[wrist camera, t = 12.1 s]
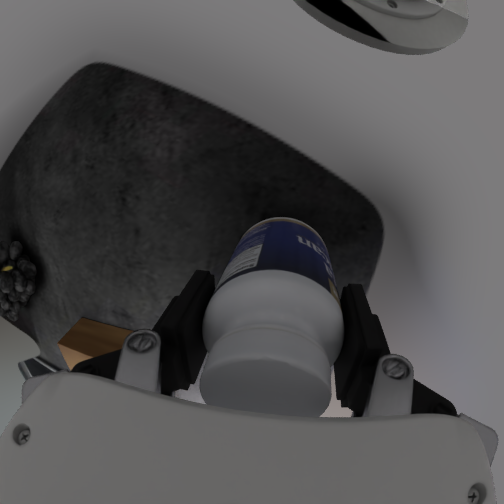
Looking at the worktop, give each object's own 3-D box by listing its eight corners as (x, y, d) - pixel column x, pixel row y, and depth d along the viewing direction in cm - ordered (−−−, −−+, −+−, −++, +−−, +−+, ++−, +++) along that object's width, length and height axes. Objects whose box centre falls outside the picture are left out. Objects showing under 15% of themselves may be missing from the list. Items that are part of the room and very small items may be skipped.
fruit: (-13, 346, 20) (-16, 298, 15) (-31, 292, 21) (-31, 226, 15) (31, 329, 28) (51, 279, 23) (12, 281, 29) (30, 218, 23)
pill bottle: (346, 261, 15) (387, 402, 7) (280, 311, 17) (263, 450, 9) (283, 194, 14) (265, 299, 6) (218, 255, 16) (147, 383, 8)
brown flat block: (62, 310, 26) (36, 335, 21) (156, 336, 24) (133, 372, 20) (94, 384, 31) (78, 408, 27) (177, 411, 30) (164, 442, 25)
